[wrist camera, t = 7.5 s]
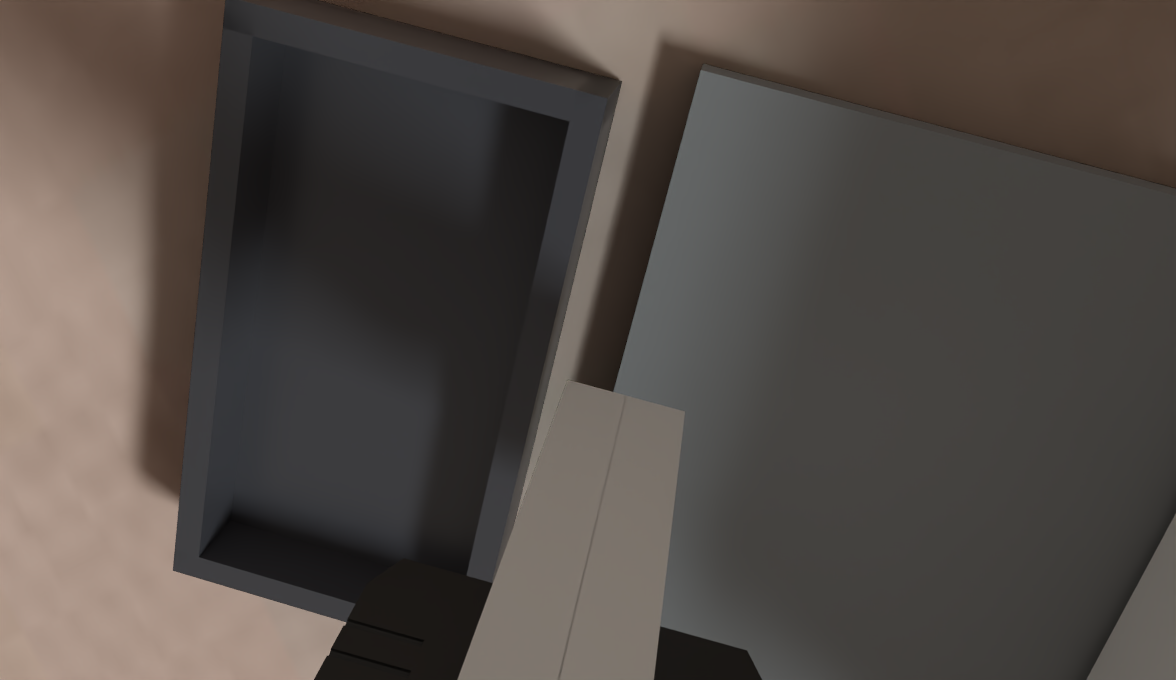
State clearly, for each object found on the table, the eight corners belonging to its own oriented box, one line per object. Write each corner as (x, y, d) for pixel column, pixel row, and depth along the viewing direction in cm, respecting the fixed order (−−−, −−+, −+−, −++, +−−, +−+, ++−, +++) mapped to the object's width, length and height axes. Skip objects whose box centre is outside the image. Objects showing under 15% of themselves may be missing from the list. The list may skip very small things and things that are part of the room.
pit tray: (214, 524, 18) (172, 571, 17) (272, -12, 15) (225, -4, 14) (494, 606, 18) (473, 660, 17) (621, 80, 15) (608, 97, 13)
